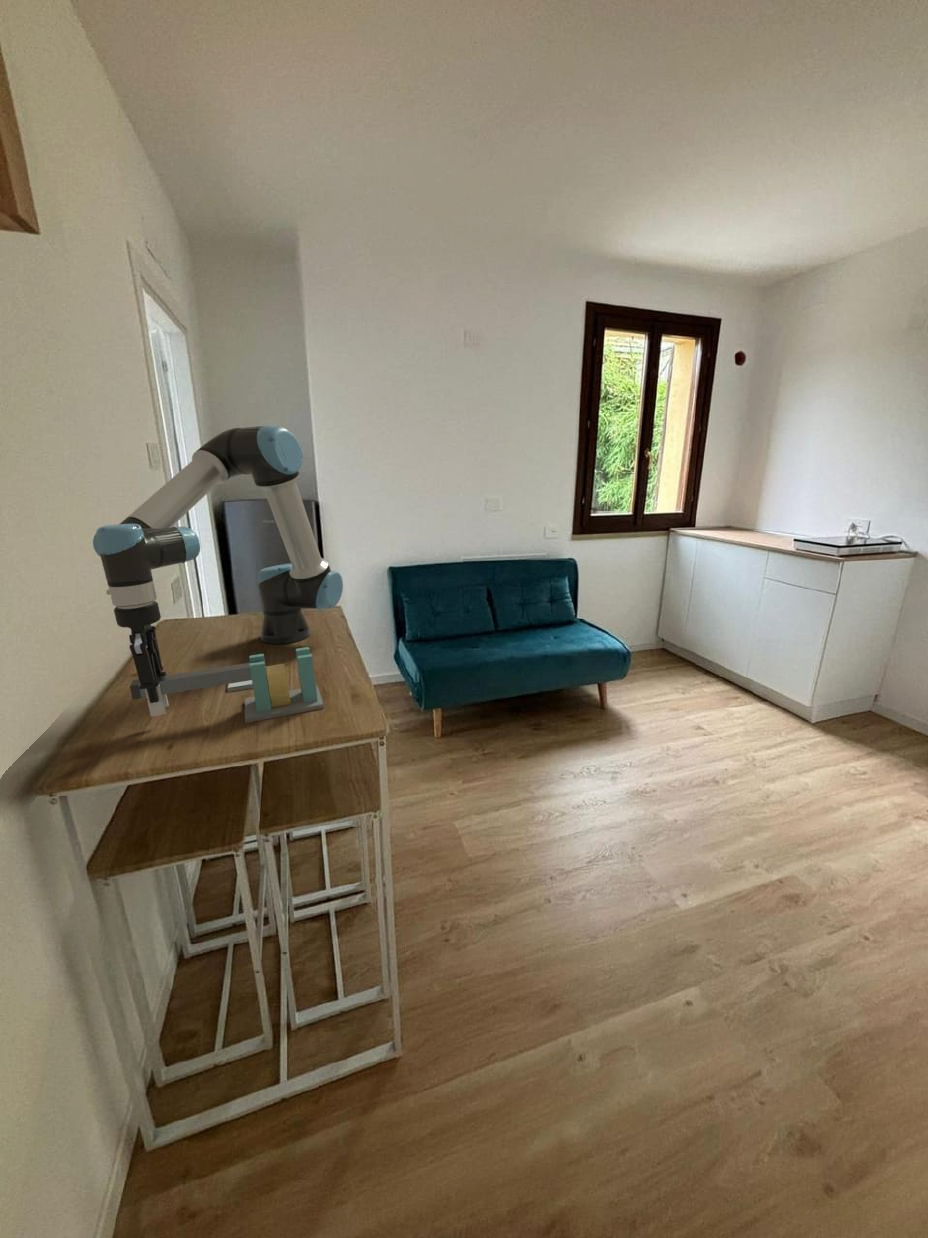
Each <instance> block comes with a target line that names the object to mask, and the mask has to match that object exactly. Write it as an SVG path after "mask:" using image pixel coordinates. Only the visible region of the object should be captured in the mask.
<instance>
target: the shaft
mask: <svg viewBox="0 0 928 1238" xmlns="http://www.w3.org/2000/svg"><path fill="white" fill-rule="evenodd" d="M258 662H263V661H258ZM251 663H256V662H251ZM157 680H158V683H159V684H160V687H161V691H162V695H164V694H166V695H169V694H177V693H182V692H186V691H194V690H200V689H207V688H213V687H218V686H225V685H228V684H231V683H237V682H243V681H249V680H252V677H251V671H250V662H247V663H240V664H233V665H227V666H226V665H225V666H219V667H213V668H206V669H201V670H200V669H199V670H194V671H187V672H182V673H175V674H174V673H173V674H166V676H160V677H157ZM139 687H140V681H139V678H138V679H133V680H132V681H131V683H130V684H129V690H130V693H131V698H132V700H134V701H135V700H141V699H145V698H146V693H145V689H139ZM146 699H147V698H146Z"/></svg>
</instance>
